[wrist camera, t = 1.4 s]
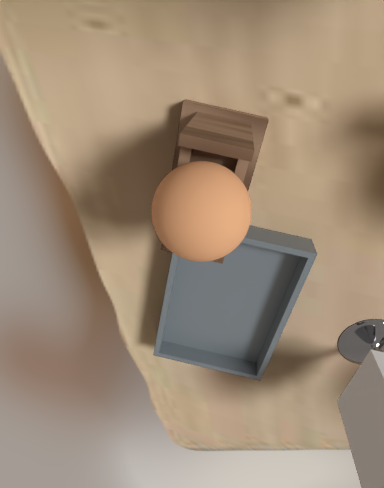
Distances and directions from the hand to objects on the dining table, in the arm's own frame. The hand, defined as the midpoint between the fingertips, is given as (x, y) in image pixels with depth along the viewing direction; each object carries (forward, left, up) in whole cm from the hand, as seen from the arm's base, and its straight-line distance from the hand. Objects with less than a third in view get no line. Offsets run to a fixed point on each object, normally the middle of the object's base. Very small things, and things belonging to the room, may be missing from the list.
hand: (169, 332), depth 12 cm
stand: (0, 0, -22) cm, 22 cm away
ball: (0, 0, -13) cm, 13 cm away
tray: (+14, +5, -22) cm, 26 cm away
